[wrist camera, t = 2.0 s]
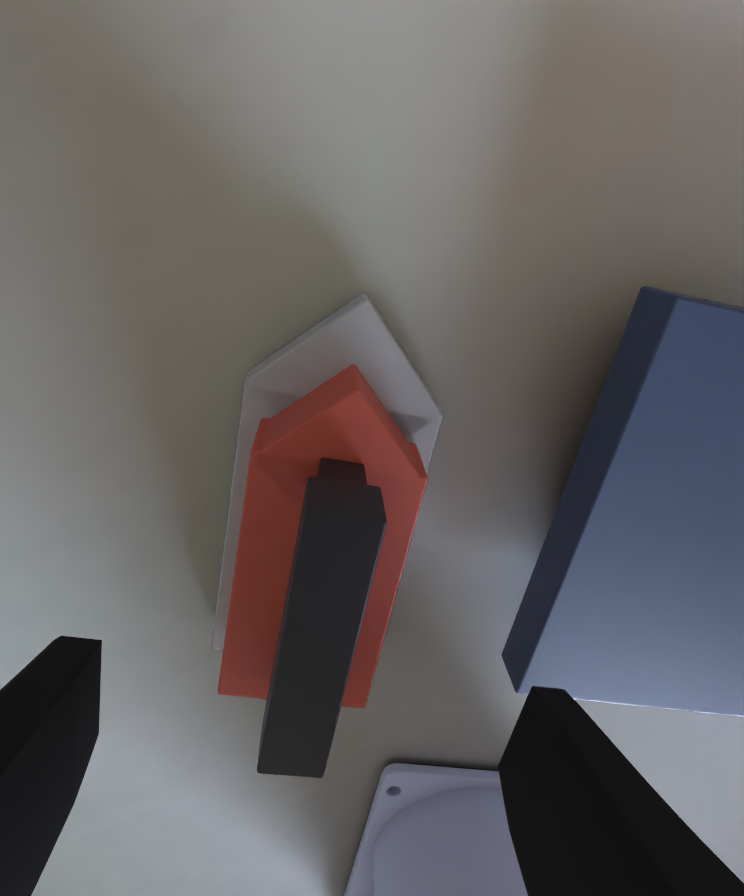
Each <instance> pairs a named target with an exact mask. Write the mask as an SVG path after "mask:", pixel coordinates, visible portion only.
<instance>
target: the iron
mask: <svg viewBox="0 0 744 896" xmlns="http://www.w3.org/2000/svg"><path fill="white" fill-rule="evenodd" d="M442 417H443V414H442V412H441V410H440V408H439V406H438V404H437V403H436V401H435V399H434V398H433V396H432V395H431V393H430V392H429V390H428V389H427V387H426V385H425V384H424V382H423V381H422V379H421V378H420V376H419V375H418V373H417V372H416V370H415V368H414V367H413V365H412V364H411V362H410V361H409V359H408V358H407V356H406V354H405V353H404V351H403V350H402V348H401V347H400V345H399V344H398V342H397V340H396V339H395V337H394V336H393V334H392V333H391V331H390V330H389V328H388V327H387V325H386V323H385V322H384V320H383V319H382V317H381V316H380V314H379V313H378V311H377V309H376V308H375V306H374V305H373V303H372V302H371V300H370V299H369V297H368V295H367V294H365V293H362V294H360V295H359V296H357V297H356V298H354V299H353V300H351V301H350V302H348V303H347V304H345V305H344V306H343V307H341V308H340V309H338V310H337V311H335V312H334V313H332V314H331V315H329V316H328V317H326V318H325V319H324V320H322V321H321V322H319V323H318V324H316V325H315V326H313V327H312V328H310V329H309V330H307V331H306V332H305V333H303V334H302V335H300V336H299V337H297V338H296V339H294V340H293V341H291V342H290V343H288V344H287V345H285V346H284V347H283V348H281V349H280V350H278V351H277V352H275V353H274V354H272V355H271V356H269V357H268V358H266V359H265V360H264V361H262V362H261V363H259V364H258V365H256V366H255V367H253V368H252V369H250V371H249V373H248V375H247V377H246V379H245V385H244V392H243V400H242V408H241V416H240V423H239V431H238V439H237V447H236V455H235V463H234V470H233V478H232V486H231V494H230V502H229V510H228V518H227V525H226V533H225V541H224V549H223V557H222V565H221V572H220V580H219V588H218V596H217V604H216V612H215V619H214V627H213V635H212V643H211V647H212V649H216V650H223V656H222V663H221V670H220V677H219V685H218V694H220V695H230V696H240V697H251V698H261V699H267V702H266V707H265V713H264V718H263V724H262V732H261V740H260V748H259V756H258V764H257V771H258V773H261V774H274V775H287V776H300V777H313V778H322V777H323V775H324V772H325V768H326V764H327V760H328V756H329V752H330V748H331V744H332V740H333V736H334V732H335V728H336V724H337V720H338V716H339V712H340V708H341V706H344V707H354V708H365V706H366V703H367V699H368V696H369V692H370V688H371V685H372V681H373V677H374V674H375V670H376V666H377V663H378V659H379V655H380V652H381V648H382V645H383V641H384V637H385V634H386V630H387V626H388V623H389V619H390V615H391V612H392V608H393V604H394V601H395V597H396V593H397V590H398V586H399V583H400V579H401V575H402V572H403V568H404V564H405V561H406V557H407V553H408V550H409V546H410V542H411V539H412V535H413V532H414V528H415V524H416V521H417V517H418V513H419V510H420V506H421V502H422V499H423V495H424V491H425V488H426V484H427V481H428V476H427V471H428V468H429V464H430V460H431V457H432V453H433V449H434V446H435V442H436V438H437V435H438V431H439V427H440V424H441V420H442Z"/></svg>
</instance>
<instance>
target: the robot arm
mask: <svg viewBox="0 0 744 896" xmlns="http://www.w3.org/2000/svg"><path fill="white" fill-rule="evenodd" d="M101 646H102V640H95V639H86V638H76V637H67V636H60V637H58V638H57V639H55V640H54V641H52V642H51V643H50V644H49V645H48V646H47V647H46V648H45V649H44V650H43V651H42V652H41V653H40V654H39V655H38V656H36V657H35V658H34V659H33V660H32V661H31V662H30V663H29V664H28V665H27V666H26V667H25V668H24V669H23V670H22V671H20V672H19V673H18V674H17V675H16V676H15V677H14V678H13V679H12V680H11V681H10V682H9V683H7V684H6V685H5V686H4V687H3V688H2V689H1V690H0V896H31V895H32V892H33V890H34V888H35V886H36V884H37V882H38V880H39V878H40V876H41V873H42V871H43V869H44V867H45V865H46V863H47V861H48V858H49V856H50V854H51V852H52V850H53V848H54V846H55V843H56V841H57V839H58V837H59V835H60V833H61V831H62V828H63V826H64V824H65V822H66V820H67V818H68V815H69V813H70V811H71V809H72V807H73V805H74V802H75V799H76V797H77V794H78V791H79V788H80V786H81V783H82V780H83V777H84V775H85V772H86V769H87V766H88V763H89V760H90V757H91V754H92V752H93V749H94V746H95V743H96V740H97V737H98V734H99V708H100V677H101ZM498 770H499V771H487V770H475V769H463V768H451V767H439V766H427V765H415V764H403V763H393V764H390V765H388V766H387V767H385V768H384V770H383V771H382V774H381V777H380V781H379V784H378V787H377V790H376V794H375V797H374V800H373V803H372V807H371V810H370V813H369V816H368V820H367V823H366V826H365V829H364V833H363V836H362V839H361V842H360V846H359V849H358V852H357V855H356V859H355V862H354V865H353V868H352V872H351V875H350V878H349V881H348V885H347V888H346V891H345V894H344V896H744V883H743V882H742V881H741V880H740V879H739V878H738V877H737V876H736V875H735V874H734V873H733V872H732V871H731V870H730V869H729V868H728V867H727V866H726V865H725V864H724V863H723V862H722V861H721V860H720V859H719V858H718V857H717V856H716V855H715V854H714V853H713V852H712V851H711V850H710V849H709V848H708V847H707V846H706V845H705V844H704V843H703V842H702V841H701V839H700V838H699V837H698V836H697V835H696V834H695V833H694V832H693V831H692V830H691V829H690V828H689V827H688V826H687V825H686V824H685V823H684V821H683V820H682V819H681V818H680V817H679V816H678V815H677V814H676V813H675V812H674V811H673V810H672V809H671V807H670V806H669V805H668V804H667V803H666V802H665V801H664V800H663V799H662V798H661V797H660V795H659V794H658V793H657V792H656V791H655V790H654V789H653V788H652V787H651V786H650V784H649V783H648V782H647V781H646V780H645V779H644V778H643V777H642V775H641V774H640V773H639V772H638V771H637V770H636V769H635V768H634V767H633V765H632V764H631V763H630V762H629V761H628V760H627V759H626V757H625V756H624V755H623V754H622V753H621V752H620V751H619V750H618V748H617V747H616V746H615V745H614V744H613V743H612V742H611V740H610V739H609V738H608V737H607V736H606V735H605V734H604V732H603V731H602V730H601V729H600V728H599V727H598V726H597V724H596V723H595V722H594V721H593V720H592V719H591V718H590V717H589V715H588V714H587V713H586V712H585V711H584V710H583V709H582V708H581V706H580V705H579V704H578V703H577V702H576V701H575V700H574V699H573V698H572V697H571V696H570V695H569V694H568V692H567V691H566V690H565V689H558V688H549V687H539V686H532V687H531V689H530V692H529V694H528V696H527V699H526V701H525V704H524V706H523V708H522V711H521V713H520V716H519V718H518V720H517V723H516V725H515V727H514V730H513V732H512V735H511V737H510V739H509V742H508V744H507V747H506V749H505V751H504V754H503V756H502V758H501V761H500V763H499V766H498Z"/></svg>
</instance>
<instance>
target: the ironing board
mask: <svg viewBox="0 0 744 896" xmlns="http://www.w3.org/2000/svg"><path fill="white" fill-rule="evenodd" d="M502 658H503V661H504V663H505V666H506V669H507V671H508V674H509V676H510V679H511V682H512V684H513V687H514V690H515V692H516V693H520V694H529V692H530V689H531V687H532V686H539V687H549V688H558V689H565V690H566V691H567V692H568V694H569V695H570V696H571V697H572V698H573V699H577V700H586V701H596V702H605V703H615V704H625V705H634V706H644V707H653V708H663V709H672V710H682V711H691V712H701V713H710V714H720V715H730V716H739V717H744V308H742V307H738V306H734V305H729V304H725V303H720V302H716V301H711V300H707V299H702V298H698V297H693V296H689V295H684V294H680V293H675V292H671V291H666V290H662V289H657V288H653V287H648V286H643V287H641V289H640V291H639V294H638V296H637V299H636V301H635V304H634V307H633V309H632V312H631V315H630V317H629V320H628V323H627V325H626V328H625V330H624V333H623V336H622V338H621V341H620V344H619V346H618V349H617V352H616V354H615V357H614V359H613V362H612V365H611V367H610V370H609V373H608V375H607V378H606V381H605V383H604V386H603V388H602V391H601V394H600V396H599V399H598V402H597V404H596V407H595V410H594V412H593V415H592V417H591V420H590V423H589V425H588V428H587V431H586V433H585V436H584V438H583V441H582V444H581V446H580V449H579V452H578V454H577V457H576V460H575V462H574V465H573V467H572V470H571V473H570V475H569V478H568V481H567V483H566V486H565V489H564V491H563V494H562V496H561V499H560V502H559V504H558V507H557V510H556V512H555V515H554V518H553V520H552V523H551V525H550V528H549V531H548V533H547V536H546V539H545V541H544V544H543V547H542V549H541V552H540V554H539V557H538V560H537V562H536V565H535V568H534V570H533V573H532V575H531V578H530V581H529V583H528V586H527V589H526V591H525V594H524V597H523V599H522V602H521V604H520V607H519V610H518V612H517V615H516V618H515V620H514V623H513V626H512V628H511V631H510V633H509V636H508V639H507V641H506V644H505V647H504V649H503V652H502Z"/></svg>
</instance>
